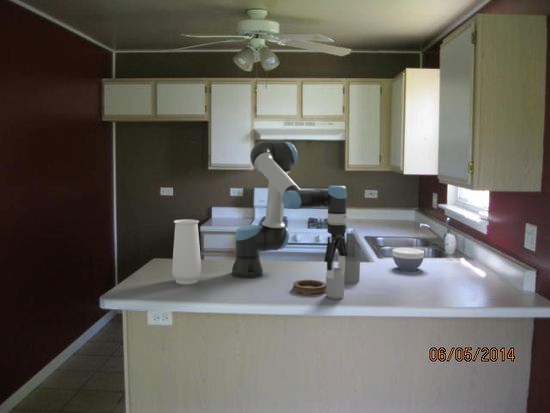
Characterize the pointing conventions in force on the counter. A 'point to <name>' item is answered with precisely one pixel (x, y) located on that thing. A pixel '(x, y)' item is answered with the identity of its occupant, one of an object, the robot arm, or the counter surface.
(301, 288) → the tray
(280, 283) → the counter surface
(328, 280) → the can
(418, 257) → the bowl
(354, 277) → the cup
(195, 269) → the vase
